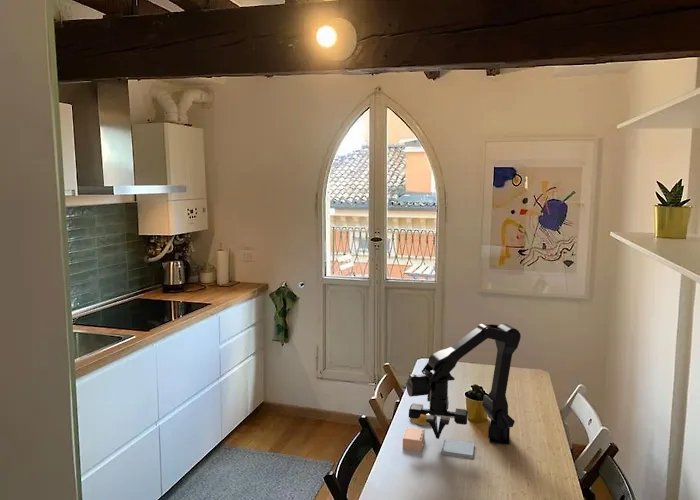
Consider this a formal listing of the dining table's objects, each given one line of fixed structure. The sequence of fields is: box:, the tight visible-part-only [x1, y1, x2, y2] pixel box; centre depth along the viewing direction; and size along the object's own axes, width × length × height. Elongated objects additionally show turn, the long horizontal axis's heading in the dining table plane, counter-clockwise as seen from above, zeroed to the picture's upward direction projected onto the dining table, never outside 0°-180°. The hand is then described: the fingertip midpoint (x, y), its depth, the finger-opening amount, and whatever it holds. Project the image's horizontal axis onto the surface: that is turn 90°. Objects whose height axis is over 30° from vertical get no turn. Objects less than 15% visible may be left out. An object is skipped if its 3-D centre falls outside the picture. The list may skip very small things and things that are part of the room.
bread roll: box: [409, 414, 431, 426], centre depth 198 cm, size 8×9×4 cm
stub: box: [402, 427, 426, 452], centre depth 180 cm, size 6×8×4 cm
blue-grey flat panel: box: [440, 438, 475, 459], centre depth 177 cm, size 10×8×1 cm
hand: (437, 438), depth 178 cm, fingers closed
